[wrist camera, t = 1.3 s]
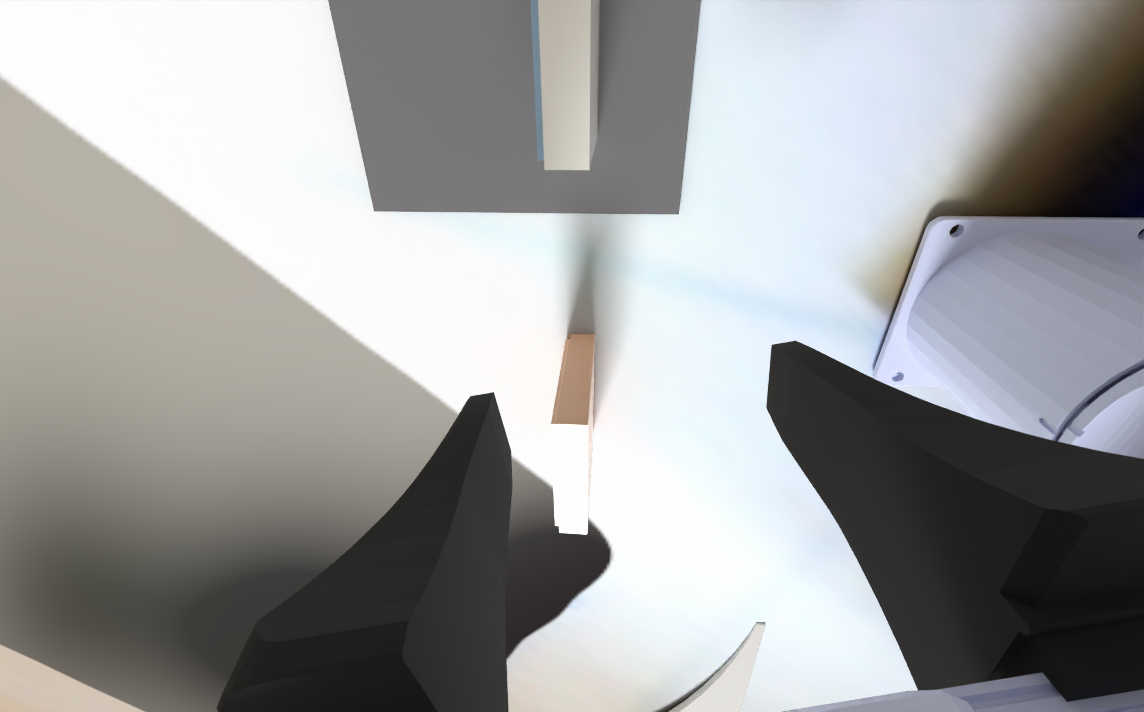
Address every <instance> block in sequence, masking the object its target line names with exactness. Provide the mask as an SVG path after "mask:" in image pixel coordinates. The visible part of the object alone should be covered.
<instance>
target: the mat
mask: <svg viewBox="0 0 1144 712" xmlns="http://www.w3.org/2000/svg"><path fill="white" fill-rule="evenodd" d="M328 1H329V6H330V10H331V15H332V20H333V24H334V29H335V33H336V38H337V42H338V47H339V52H340V56H341V61H342V65H343V70H344V75H345V79H346V84H347V88H348V93H349V98H350V102H351V107H352V111H353V116H354V121H355V125H356V130H357V134H358V139H359V144H360V148H361V153H362V157H363V162H364V167H365V171H366V176H367V180H368V185H369V190H370V194H371V199H372V203H373V208H374V211H400V212H499V213H599V214H679V207H680V198H681V188H682V178H683V168H684V158H685V149H686V139H687V129H688V119H689V109H690V100H691V90H692V80H693V70H694V60H695V51H696V41H697V31H698V21H699V11H700V2H701V0H600V20H599V84H598V136H597V140H596V145H595V149H594V153H593V157H592V161H591V166H590V170H544V161H538V159H537V136H536V114H535V91H534V68H533V45H532V23H531V0H328Z"/></svg>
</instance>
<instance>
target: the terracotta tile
mask: <svg viewBox="0 0 1144 712" xmlns="http://www.w3.org/2000/svg"><path fill="white" fill-rule="evenodd" d="M594 359H595V334H570V339H566V343H565V348H564V354H563V360H562V365H561V371H560V376H559V382H558V388H557V393H556V399H555V405H554V410H553V416H552V422H551V437H552V461H553V486H554V510H555V526H559V533H574V534H587V528H588V511H589V494H590V478H591V461H592V444H593V422H594Z"/></svg>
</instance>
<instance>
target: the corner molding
mask: <svg viewBox="0 0 1144 712" xmlns="http://www.w3.org/2000/svg"><path fill="white" fill-rule="evenodd" d="M764 629H765V623H756V624H755V626H754V627H753V629H752V631H751V632H750V634H749V635H748V637H747V638H746V639H745V641H744V642H743V643H742V645H741V646H740V647H739V648H738V650H737V651H736V652H735V654H734V655H733V656H732V657H731V658H730V659H729V660H728V661H727V662H726V663H725V664H724V665H723V666H722V668H721V669H720V670H719V671H718V672H716V673H715V674H714V675H713V676H712V677H711V678H710V679H709V680H708V681H707V682H706V683H705V684H704V685H703V686H702V687H701V688H700V689H699V690H697V691H696V692H695V693H694V694H692V695H691V696H690V697H689V698H687V699H686V700H685V701H684V702H682V703H681V704H679V705H678V706H676V707H675V708H673V709H672V710H670V711H668V712H740V710H741V707H742V703H743V700H744V696H745V693H746V690H747V686H748V683H749V680H750V676H751V673H752V669H753V666H754V663H755V659H756V656H757V652H758V649H759V646H760V642H761V639H762V635H763V632H764Z"/></svg>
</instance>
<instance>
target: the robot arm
mask: <svg viewBox="0 0 1144 712" xmlns="http://www.w3.org/2000/svg"><path fill="white" fill-rule="evenodd" d="M955 225H958V229H957V230H956V232H954V233H953V234H950V230H951V228H952V227H954V226H955ZM1142 229H1144V218H1099V217H998V216H940V217H937V218H935V219H933V220H932V221H931V222H930V223H929V224H928V225H927V227H926V229H925V232H924V235H923V238H922V240H921V243H920V246H919V248H918V251H917V254H916V257H915V259H914V262H913V265H912V267H911V270H910V273H909V276H908V278H907V281H906V284H905V287H904V289H903V292H902V295H901V297H900V300H899V303H898V306H897V308H896V311H895V314H894V316H893V319H892V322H891V325H890V327H889V330H888V333H887V336H886V338H885V341H884V344H883V346H882V349H881V352H880V355H879V357H878V360H877V363H876V365H875V368H874V371H873V378H871V377H869V376H867V375H865V374H863V373H861V372H859V371H857V370H855V369H853V368H851V367H849V366H847V365H845V364H843V363H841V362H839V361H837V360H835V359H833V358H831V357H829V356H827V355H825V354H823V353H821V352H819V351H817V350H815V349H813V348H811V347H809V346H806V345H804V344H802V343H800V342H797V341H792V342H786V343H780V344H774V345H772V348H771V360H770V371H769V383H768V395H767V407H766V408H767V410H768V412H769V414H770V416H771V418H772V420H773V423H774V425H775V427H776V429H777V431H778V433H779V435H780V437H781V439H782V440H783V442H784V444H785V445H786V447H787V448H788V450H789V451H790V453H791V454H792V456H793V457H794V459H795V460H796V462H797V463H798V465H799V466H800V468H801V469H802V471H803V472H804V474H805V475H806V476H807V478H808V479H809V481H810V482H811V484H812V485H813V487H814V488H815V490H816V491H817V493H818V494H819V496H820V497H821V499H822V500H823V501H824V503H825V504H826V506H827V507H828V509H829V510H830V512H831V514H832V515H833V517H834V518H835V520H836V522H837V523H838V525H839V527H840V528H841V530H842V532H843V534H844V536H845V538H846V540H847V541H848V543H849V545H850V547H851V549H852V551H853V553H854V555H855V556H856V558H857V560H858V562H859V564H860V566H861V568H862V570H863V572H864V574H865V576H866V578H867V580H868V582H869V584H870V586H871V588H872V590H873V592H874V594H875V596H876V598H877V600H878V602H879V604H880V606H881V608H882V611H883V613H884V615H885V617H886V619H887V621H888V623H889V626H890V628H891V630H892V632H893V634H894V636H895V638H896V641H897V643H898V645H899V647H900V649H901V652H902V654H903V656H904V659H905V661H906V663H907V666H908V668H909V670H910V673H911V675H912V677H913V679H914V682H915V684H916V686H917V689H918V691H905V692H899V693H893V694H887V695H881V696H875V697H869V698H863V699H856V700H850V701H844V702H838V703H832V704H826V705H820V706H814V707H808V708H802V709H795V710H789V711H783V712H1144V231H1143V232H1142V233H1141V234H1140V235H1138V234H1139V232H1140V231H1141V230H1142ZM899 372H900V373H899ZM896 373H899V375H897V376H896V377H893V375H894V374H896ZM889 385H902V386H932V387H943V388H944V389H945V390H946V391H947V392H948V393H949V394H950V395H951V396H952V397H953V398H954V399H955V400H956V401H957V402H958V403H959V404H960V405H961V406H962V407H963V408H964V409H965V410H966V411H967V412H968V413H969V414H970V415H971V416H972V417H973V418H972V417H969V416H966V415H963V414H960V413H957V412H954V411H951V410H949V409H946V408H943V407H940V406H937V405H935V404H932V403H929V402H927V401H924V400H922V399H919V398H917V397H914V396H912V395H910V394H907V393H905V392H903V391H900V390H898V389H896V388H893V387H891V386H889ZM511 495H512V463H511V449H510V446H509V443H508V439H507V436H506V432H505V429H504V426H503V422H502V419H501V415H500V412H499V409H498V405H497V402H496V399H495V395H494V392H493V393H487V394H482V395H476V396H470V398H469V399H468V400H467V402H466V404H465V405H464V407H463V408H462V410H461V412H460V413H459V415H458V417H457V419H456V420H455V422H454V423H453V425H452V427H451V428H450V430H449V432H448V433H447V435H446V436H445V438H444V439H443V441H442V442H441V444H440V445H439V447H438V448H437V450H436V451H435V453H434V454H433V456H432V457H431V459H430V460H429V461H428V463H427V464H426V465H425V467H424V468H423V469H422V471H421V472H420V473H419V475H418V476H417V478H416V479H415V480H414V481H413V483H412V484H411V485H410V486H409V488H408V489H407V490H406V491H405V493H404V494H403V495H402V496H401V497H400V498H399V500H398V501H397V502H396V503H395V504H394V505H393V506H392V507H391V509H390V510H389V511H388V512H387V513H386V514H385V515H384V516H383V517H382V518H381V519H380V520H379V521H378V522H377V523H376V524H375V525H374V526H373V527H372V528H371V529H370V530H369V531H368V532H367V533H366V534H365V535H364V536H363V537H362V538H361V539H359V540H358V541H357V543H355V544H354V545H353V546H352V547H351V548H350V549H349V550H348V551H346V552H345V554H343V555H342V556H341V557H340V558H339V559H337V560H336V561H335V562H334V563H333V564H331V565H330V566H329V567H328V568H327V569H325V570H324V571H323V572H322V573H321V574H319V575H318V576H317V577H316V578H314V579H313V580H312V581H311V582H309V583H308V584H307V585H306V586H304V587H303V588H302V589H300V590H299V591H298V592H296V593H295V594H293V595H292V596H291V597H289V598H288V599H287V600H285V601H284V602H283V603H282V604H280V605H279V606H277V607H276V608H274V609H273V610H272V611H271V612H269V613H268V614H266V615H265V616H263V617H262V618H261V619H259V620H258V621H257V622H256V624H255V626H254V628H253V630H252V632H251V634H250V636H249V638H248V639H247V641H246V643H245V646H244V648H243V650H242V652H241V654H240V656H239V659H238V661H237V663H236V665H235V667H234V669H233V672H232V674H231V676H230V678H229V681H228V683H227V685H226V687H225V689H224V691H223V694H222V696H221V698H220V701H219V703H218V706H217V710H218V712H508V690H507V665H506V631H505V630H506V629H505V565H506V554H507V543H508V531H509V520H510V508H511Z"/></svg>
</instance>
